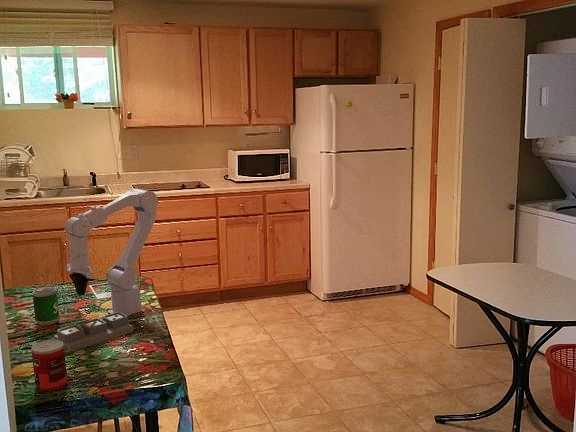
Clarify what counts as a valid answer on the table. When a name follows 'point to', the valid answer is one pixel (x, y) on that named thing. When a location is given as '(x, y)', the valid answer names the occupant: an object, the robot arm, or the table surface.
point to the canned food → (49, 365)
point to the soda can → (45, 305)
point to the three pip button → (93, 323)
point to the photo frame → (100, 296)
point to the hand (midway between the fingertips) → (81, 294)
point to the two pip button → (115, 317)
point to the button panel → (94, 332)
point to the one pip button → (70, 330)
